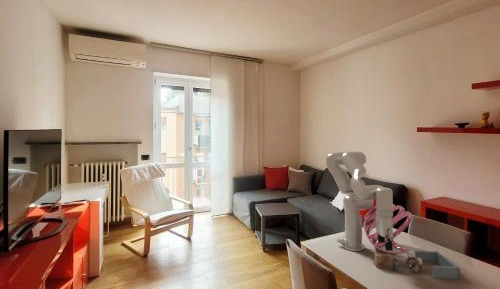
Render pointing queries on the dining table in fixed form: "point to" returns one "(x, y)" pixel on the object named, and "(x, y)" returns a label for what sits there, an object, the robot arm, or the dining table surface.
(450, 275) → the box
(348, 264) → the dining table surface
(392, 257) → the brown grey block
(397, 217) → the spiral basket
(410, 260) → the eagle figurine
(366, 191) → the robot arm
